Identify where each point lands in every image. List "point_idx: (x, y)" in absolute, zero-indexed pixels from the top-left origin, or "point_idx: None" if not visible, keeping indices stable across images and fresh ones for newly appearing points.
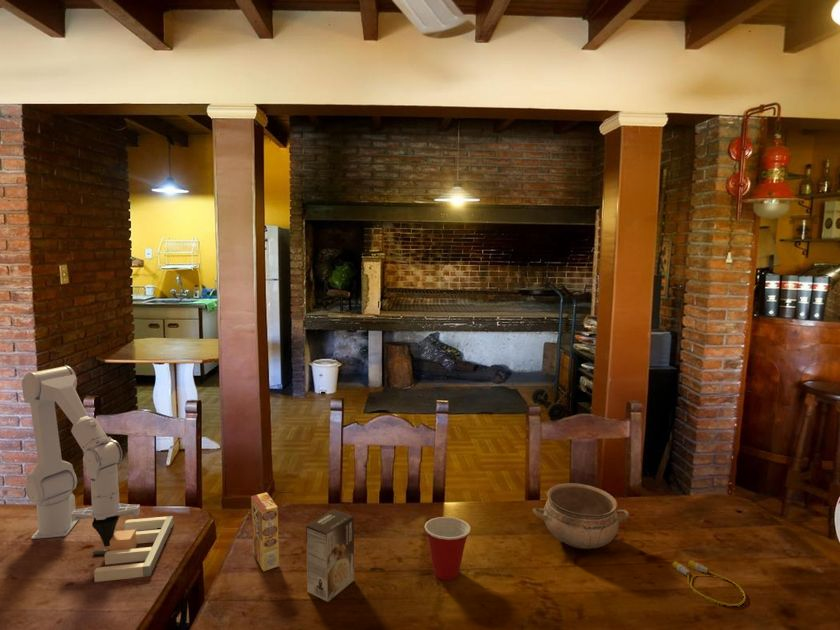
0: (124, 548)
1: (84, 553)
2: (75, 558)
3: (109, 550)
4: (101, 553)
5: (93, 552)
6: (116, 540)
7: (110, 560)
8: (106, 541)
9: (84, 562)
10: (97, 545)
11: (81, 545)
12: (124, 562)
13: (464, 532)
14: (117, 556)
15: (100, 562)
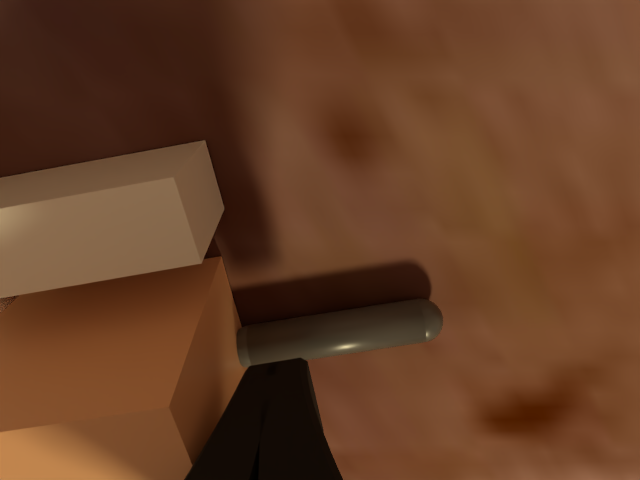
0: (31, 336)
1: (524, 325)
2: (581, 251)
3: (272, 343)
4: (346, 311)
5: (428, 313)
6: (63, 419)
7: (130, 161)
8: (255, 409)
9: (461, 185)
10: (458, 427)
11: (594, 425)
12: (3, 177)
13: None
14: (28, 194)
15: (286, 184)
